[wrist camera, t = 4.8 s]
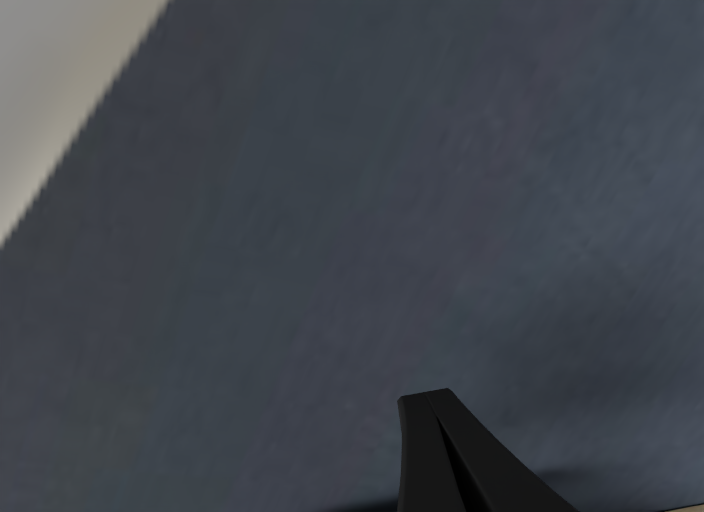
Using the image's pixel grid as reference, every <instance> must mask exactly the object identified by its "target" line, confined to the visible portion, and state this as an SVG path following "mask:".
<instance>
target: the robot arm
mask: <svg viewBox="0 0 704 512" xmlns="http://www.w3.org/2000/svg"><path fill="white" fill-rule="evenodd" d="M397 402H398V409H399V417H400V424H401V431H402V460H401V479H400V488H399V498H398V508H397V512H579V511H578V510H577V509H575V508H574V507H573V506H572V505H570V504H569V503H568V502H567V501H565V500H564V499H563V498H562V497H561V496H559V495H558V494H557V493H556V492H555V491H553V490H552V489H551V488H550V487H549V486H548V485H546V484H545V483H544V482H543V481H542V480H541V479H540V478H538V477H537V476H536V475H535V474H534V473H533V472H532V471H530V470H529V469H528V468H527V467H526V466H525V465H524V464H523V463H522V462H520V461H519V460H518V459H517V458H516V457H515V456H514V455H513V454H512V453H511V452H510V451H509V450H508V449H507V448H506V447H505V446H504V445H503V444H501V443H500V442H499V441H498V440H497V439H496V438H495V437H494V436H493V435H492V434H491V433H490V432H489V431H488V430H487V429H486V428H485V427H484V426H483V425H482V424H481V423H480V422H479V421H478V419H477V418H476V417H475V416H474V415H473V414H472V413H471V412H470V411H469V410H468V409H467V408H466V407H465V406H464V404H463V403H462V402H461V401H460V400H459V399H458V398H457V396H456V395H455V394H454V393H453V392H452V391H451V390H450V389H448V388H445V389H439V390H434V391H428V392H423V393H417V394H412V395H406V396H401V397H400V398H399V399H398V401H397Z"/></svg>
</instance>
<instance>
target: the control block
mask: <svg viewBox="0 0 704 512" xmlns="http://www.w3.org/2000/svg"><path fill="white" fill-rule="evenodd" d="M666 512H704V504H703V505H698V506H692V507H687V508H682V509H677V510H671V511H666Z"/></svg>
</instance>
